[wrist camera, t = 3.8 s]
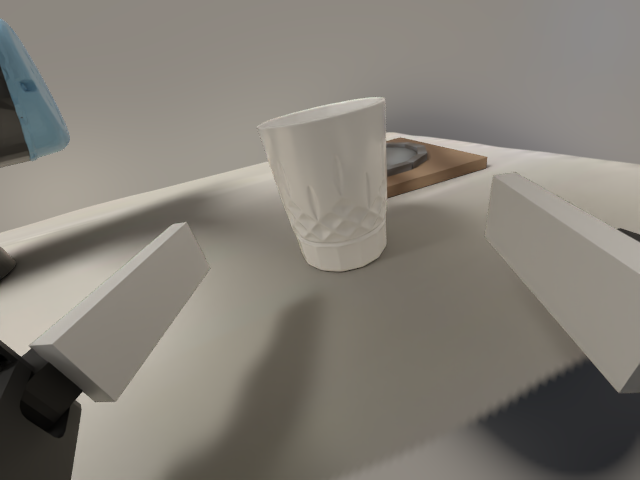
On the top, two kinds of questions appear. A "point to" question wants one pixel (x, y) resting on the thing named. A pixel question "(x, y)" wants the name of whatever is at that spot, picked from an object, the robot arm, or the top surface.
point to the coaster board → (425, 165)
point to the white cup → (332, 179)
